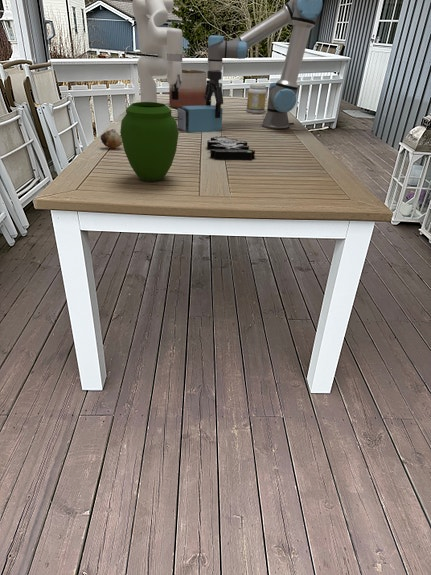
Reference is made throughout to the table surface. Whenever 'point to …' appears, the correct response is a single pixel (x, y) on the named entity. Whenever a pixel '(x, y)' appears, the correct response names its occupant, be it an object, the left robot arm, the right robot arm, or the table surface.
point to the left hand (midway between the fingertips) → (174, 99)
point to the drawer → (182, 118)
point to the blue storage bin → (203, 118)
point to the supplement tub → (256, 98)
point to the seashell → (111, 139)
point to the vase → (149, 139)
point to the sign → (229, 149)
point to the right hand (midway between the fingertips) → (212, 115)
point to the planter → (190, 89)
